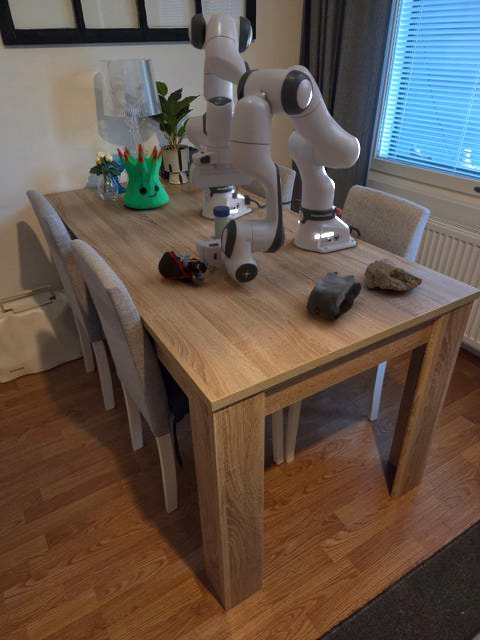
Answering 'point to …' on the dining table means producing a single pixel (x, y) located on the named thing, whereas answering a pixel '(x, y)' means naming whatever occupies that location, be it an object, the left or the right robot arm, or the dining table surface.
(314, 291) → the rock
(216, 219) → the pale green cylinder
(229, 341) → the dining table surface
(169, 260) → the toy
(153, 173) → the toy
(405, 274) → the artifact
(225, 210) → the lid
